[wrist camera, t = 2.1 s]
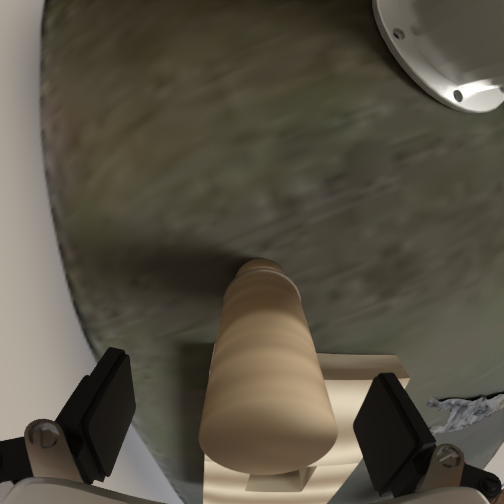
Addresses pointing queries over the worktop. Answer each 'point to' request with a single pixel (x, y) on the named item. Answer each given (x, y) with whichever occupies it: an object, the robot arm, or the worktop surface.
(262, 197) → the worktop surface
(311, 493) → the board
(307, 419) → the peg
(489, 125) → the worktop surface
